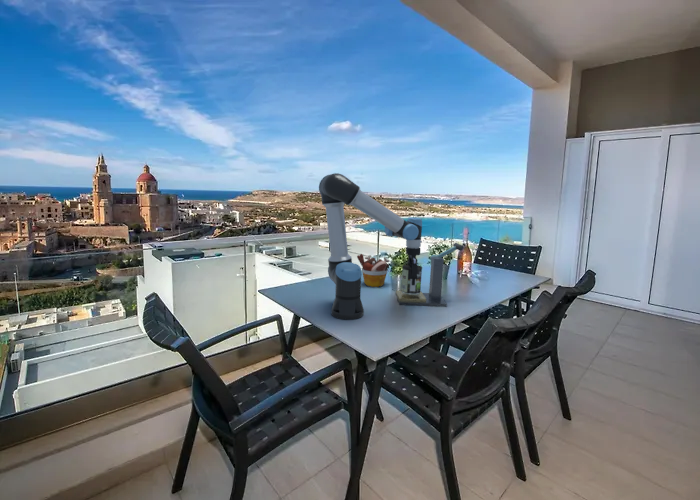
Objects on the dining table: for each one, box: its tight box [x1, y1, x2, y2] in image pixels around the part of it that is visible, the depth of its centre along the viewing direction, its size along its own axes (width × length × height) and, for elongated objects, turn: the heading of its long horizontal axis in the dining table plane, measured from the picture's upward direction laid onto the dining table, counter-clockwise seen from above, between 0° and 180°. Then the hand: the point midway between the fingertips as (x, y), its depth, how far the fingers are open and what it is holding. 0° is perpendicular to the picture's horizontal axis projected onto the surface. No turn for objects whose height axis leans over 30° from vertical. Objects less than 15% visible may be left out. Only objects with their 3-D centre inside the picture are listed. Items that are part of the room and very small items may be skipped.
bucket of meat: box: [356, 253, 390, 288], centre depth 199 cm, size 20×16×20 cm
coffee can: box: [400, 264, 423, 295], centre depth 171 cm, size 10×10×14 cm
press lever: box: [430, 242, 464, 259], centre depth 174 cm, size 18×8×4 cm, turn 87°
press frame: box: [395, 257, 448, 308], centre depth 171 cm, size 24×18×24 cm
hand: (410, 287), depth 172 cm, fingers open, 10 cm apart
